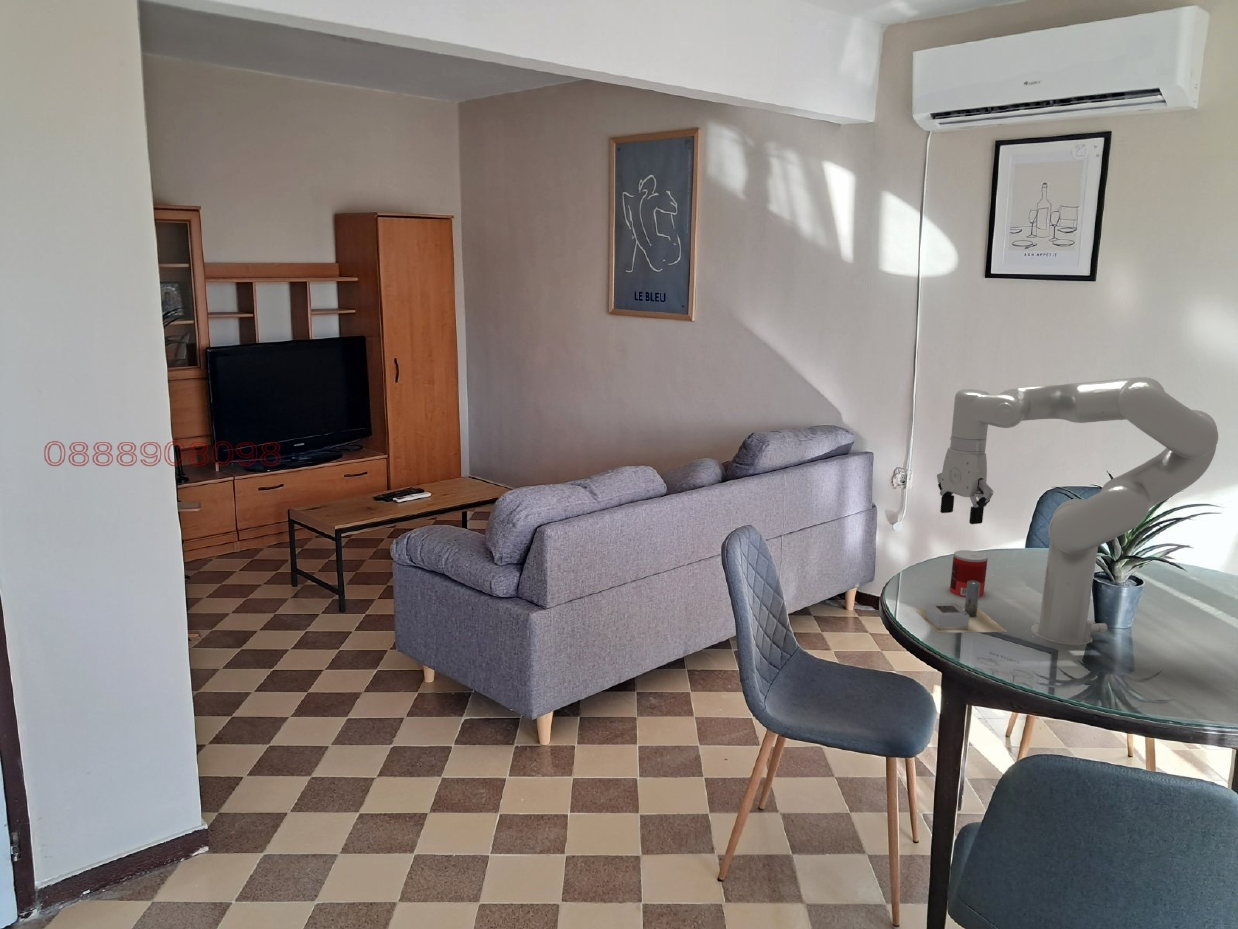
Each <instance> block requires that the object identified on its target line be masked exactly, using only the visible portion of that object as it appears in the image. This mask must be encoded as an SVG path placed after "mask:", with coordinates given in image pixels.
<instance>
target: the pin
mask: <svg viewBox="0 0 1238 929" xmlns="http://www.w3.org/2000/svg"><path fill="white" fill-rule="evenodd" d="M979 591H980V582H978V581H973V580H970V581H967V590H966V597H965V602H964V608H963V609H964V611H965V612H967V613H968V614H969V617H976V616H977V609H979V608H978V607H979V598H980V597H979Z"/></svg>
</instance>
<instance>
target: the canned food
mask: <svg viewBox="0 0 1238 929" xmlns="http://www.w3.org/2000/svg"><path fill="white" fill-rule="evenodd" d="M988 557H989V556H988V555H987V554H985V553H983V552H980V551H976V550H969V549H962V550H956V551H954V553H953V558H952V566H951V574H950V576H951V577H950V584H949V585H950V586H949V593H951V594H953V595H955V596H958V597H962V598H966V590H967V581H970V580H973V581H978V582H980V591H979V598H982V597H983V596H984V593H985V584H986V577H987V569H988V561H989V560H988Z"/></svg>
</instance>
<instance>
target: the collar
mask: <svg viewBox="0 0 1238 929" xmlns="http://www.w3.org/2000/svg"><path fill="white" fill-rule="evenodd" d="M925 609H926V612H925V619H927V620H928V621H929V622H930V623H931V624H932V625H933V626H934V627H935V628H936V629H937V630H968V623H969V614H968V613H967V612H965V611H964V610H963V609H964V608H962V607H961V606H959V605H958V604H957V602H956V603H954V602H953V603H951V602H950V603H926V605H925Z"/></svg>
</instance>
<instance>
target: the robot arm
mask: <svg viewBox="0 0 1238 929" xmlns="http://www.w3.org/2000/svg"><path fill="white" fill-rule="evenodd" d="M953 404H954V405H953V414H952V415H953V416H952V425H951V434H950V435H951V436H950V444H949V447H948V448H947V450H946V453H945V457H944V460H943V466H942V470H941V472H940V473H937V474H936V479H937V483H938V485H937V486H938V489H939V490H940V492H939V495H940V496H941V500H940V501H941V502H940V514H949V513H953V512H954V504H955V495H957V496H960V497H963V498H969V499H970V501H971V504H972V506H970V510H969V511H970V512H969V513H970V514H969V524H970V525H979V524H980V525H981V524H982V523H983V520H984V512H985V511H984V510H985V507H987V504H989V503H990V502H991V498H992V497H993V495H994V490H993V489H992V488H991V487H990V486H989V485H988V483H987V478H988V477H987V475H988V473H987V472H988V466H987V465H988V462H987V453H986V447H987V438H988V429H989V426H993V427H996V428H1003V429H1009V428H1013V427H1016V426H1018V425H1019V424H1020V423H1021V422H1024V421H1025V422H1026V421H1034V420H1054V419H1055V420H1062V421H1063V420H1064V421H1068V422H1071V423H1075V424H1076V423H1077V424H1085V423H1086V424H1087V423H1096V422H1109V421H1110V422H1111V421H1123V420H1124V421H1125V420H1126V421H1128V422H1129V423H1130V424H1132V425H1133V426H1135V427H1136V428H1137V429H1139V430H1140V431H1141V432H1143V433H1144V434H1146V435H1148V436H1149V437H1150V438H1152V439H1153V440H1155V441H1157V443H1159V444H1160V445H1162V446H1163V447H1165V448H1164V450H1162V451H1161V452H1160V453H1159V454H1157V455H1155V456H1154V457H1152V458H1151V459H1148V460H1147V461H1145V462H1144V463H1142V464H1140V465H1138V466H1136V467H1134V468H1132V469H1130V470H1129V471H1127V472H1125V473H1123V474H1120V475H1118V476H1116V477H1114V478H1112V479H1110V480H1108V481H1107V482H1106V483H1105V484H1104V485H1103V486H1102V487H1101V490H1100V491H1099V492H1098V493H1096V494H1093V495H1092V496H1090V497H1088V498H1086V499H1081V498H1073V499H1068V500H1066V501H1064V502H1063V503H1061V504H1060V505H1058V507H1057V508H1056V509H1055V511H1054V512H1053V515H1052V517H1051V520H1050V522H1049V526H1048V532H1047V533H1048V537H1049V547H1048V553H1047V559H1046V568H1045V573H1044V575H1045V576H1044V582H1043V588H1042V589H1043V590H1042V597H1041V599H1042V600H1041V603H1040V604H1041V605H1040V612H1039V620H1038V623H1037V622H1036V623H1034V624H1033V625H1031V626H1030V630H1031V632H1032V633H1033V634H1035V635H1036V636H1038V637H1040V638H1042V639H1044V640H1047V641H1050V642H1053V643H1058V644H1062V645H1063V644H1064V645H1075V646H1076V645H1085V644H1089V643H1093V636H1092V635H1091V634H1094V633H1096V632H1097V633H1107V632H1108V629H1109V628H1108V625H1107V623H1106V622H1105V623H1103V622H1101V623H1096V622H1095V620H1094V619H1093V620H1092V619H1091V620H1088V617H1089V612H1090V611H1089V610H1090V605H1091V604H1090V603H1091V595H1092V589H1093V584H1094V583H1093V582H1094V576H1095V571H1096V564H1097V563H1096V562H1097V555H1098V550H1099V547H1100V546H1102V545H1105V544H1106V543H1107V542H1110V541H1111V540H1115V539H1116V538H1118V537H1120V536H1122V535H1124V534H1126V533H1128V532H1130V531H1132V530H1133V529H1135V528H1137V527H1138V526H1139V525H1141V524H1142V523H1143V522H1144V521H1145V519H1146V518H1147V517H1148V514H1149V512H1150V509H1151V508H1153V507H1155V506H1157V505H1159V504H1160V503H1163V502H1164V501H1166V500H1168V499H1170V498H1171V497H1173V496H1175V495H1176V494H1179V493H1180V492H1182V491H1184V490H1186V489H1187V488H1189V487H1191V486H1192V485H1193V484H1194V483H1195V482H1197V481H1198V480H1199V479H1200V478H1202V476H1203V475H1204V474H1205V473H1206V472H1207V470H1208V469H1209V467H1210V465H1211V463H1212V461H1213V459H1214V456H1215V454H1216V450H1217V444H1218V441H1219V432H1218V427H1217V423H1216V421H1215V420H1214V419H1213V417H1212V416H1211V415H1210V414H1208V413H1207V412H1205V411H1202V410H1197V409H1190V408H1189V407H1187V406H1186V405H1184V404H1183V403H1182V402H1180V401H1178V400H1177V399H1175V398H1174V397H1173V396H1171V395H1170V394H1169V393H1167V392H1166V391H1165V388H1164V387H1163V385H1162V384H1161V383H1160V382H1159V380H1158V381H1157V380H1156V379H1154V378H1151V377H1147V376H1146V377H1140V376H1139V377H1128V378H1118V379H1109V380H1107V379H1106V380H1097V381H1087V382H1074V383H1065V384H1053V385H1052V384H1051V385H1041V386H1040V385H1039V386H1029V387H1020V388H1019V387H1018V388H1017V387H1016V388H1009V389H1006V390H1004V391H1002V392H1000V393H997V394H990V393H989V392H988V391H985V390H982V389H969V388H968V389H961V390H960V389H959V390H958V391H957V392H956V393H955V396H954V403H953ZM953 494H954V495H953ZM977 498H978V499H977Z"/></svg>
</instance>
